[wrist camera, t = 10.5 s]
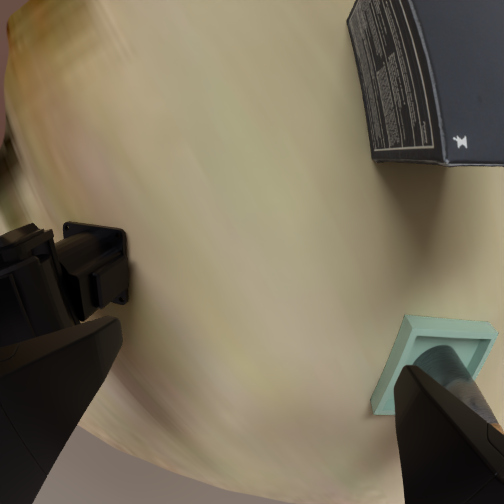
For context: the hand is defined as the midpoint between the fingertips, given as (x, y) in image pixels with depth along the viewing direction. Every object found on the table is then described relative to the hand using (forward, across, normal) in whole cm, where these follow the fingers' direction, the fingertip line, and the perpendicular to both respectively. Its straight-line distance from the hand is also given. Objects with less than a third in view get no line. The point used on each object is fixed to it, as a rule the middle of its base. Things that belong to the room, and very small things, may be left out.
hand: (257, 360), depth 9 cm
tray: (+13, -15, +9) cm, 22 cm away
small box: (+13, -7, -12) cm, 19 cm away
